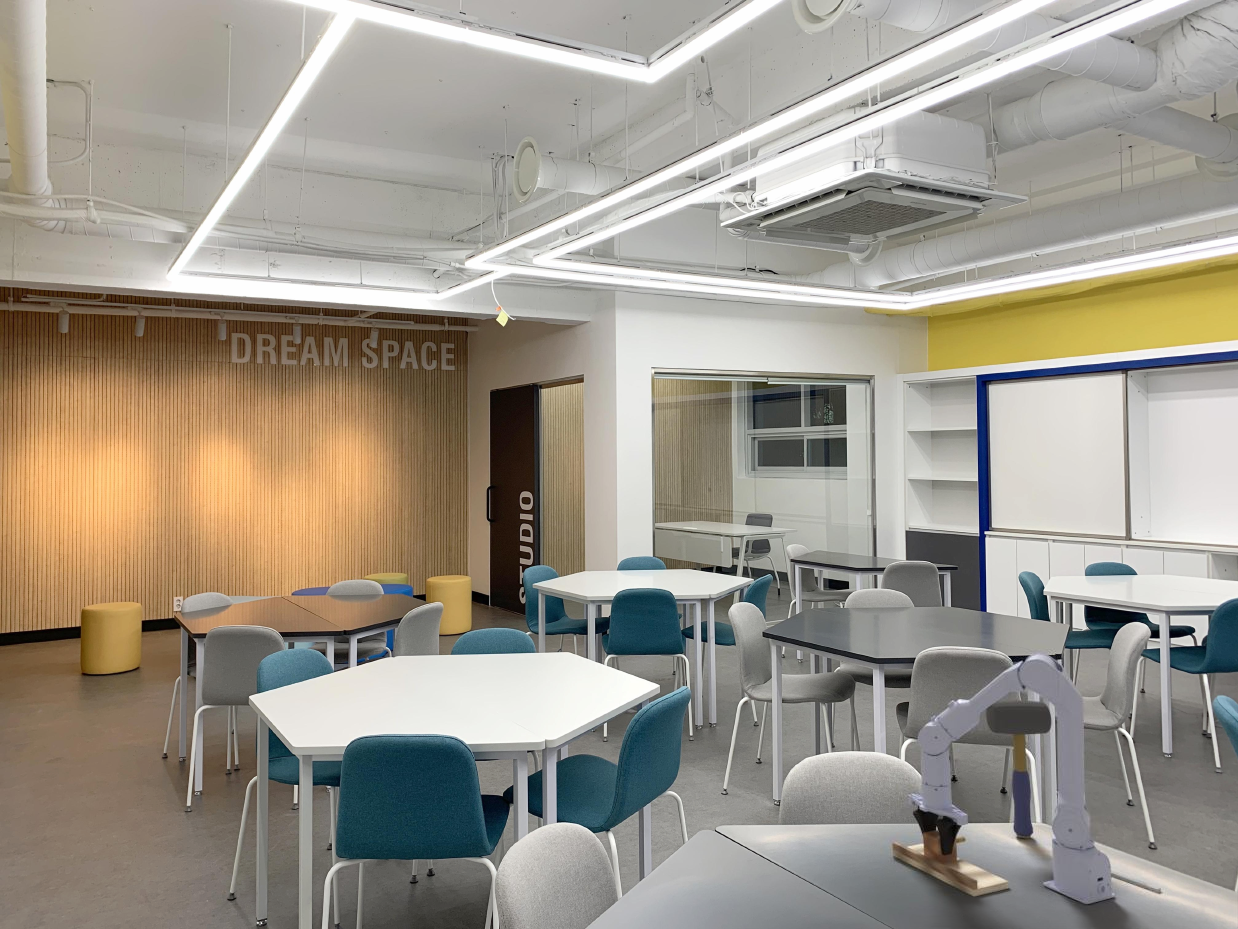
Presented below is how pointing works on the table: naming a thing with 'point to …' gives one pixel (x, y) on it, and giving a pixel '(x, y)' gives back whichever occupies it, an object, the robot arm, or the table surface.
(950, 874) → the board
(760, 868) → the table surface
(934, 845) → the brown wooden block
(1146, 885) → the pale grey thin rod
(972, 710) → the robot arm
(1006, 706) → the rubber mallet
